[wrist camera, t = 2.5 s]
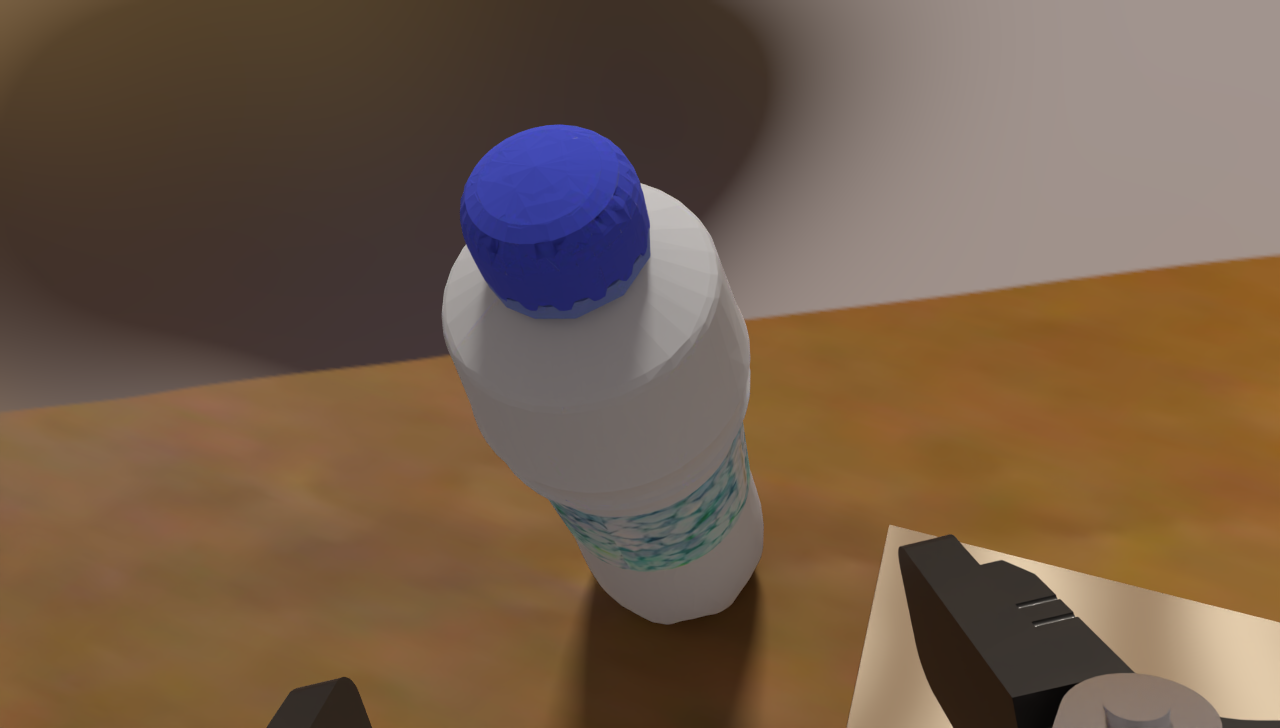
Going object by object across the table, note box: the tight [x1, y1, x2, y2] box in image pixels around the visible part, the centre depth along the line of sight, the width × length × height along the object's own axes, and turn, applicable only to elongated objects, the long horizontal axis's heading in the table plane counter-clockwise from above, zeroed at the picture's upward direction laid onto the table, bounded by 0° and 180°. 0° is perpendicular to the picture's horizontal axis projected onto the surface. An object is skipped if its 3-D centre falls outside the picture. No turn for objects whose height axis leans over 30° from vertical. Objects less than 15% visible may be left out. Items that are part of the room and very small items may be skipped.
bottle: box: [442, 125, 764, 625], centre depth 23 cm, size 7×7×20 cm
